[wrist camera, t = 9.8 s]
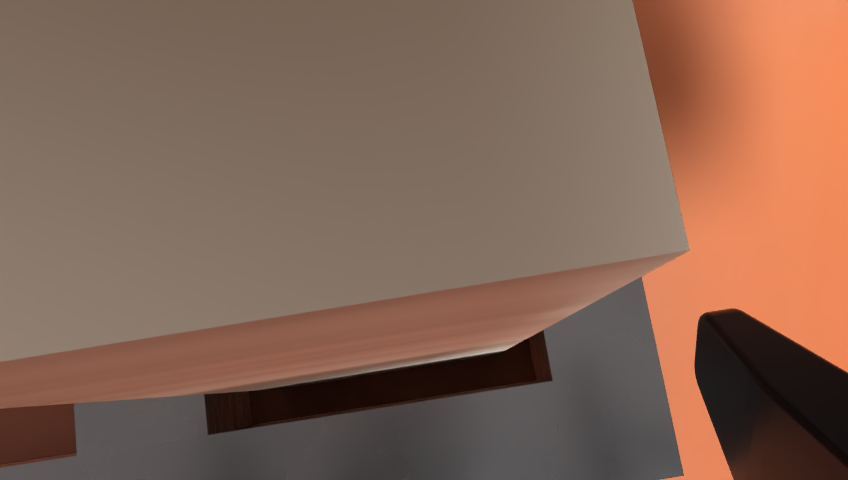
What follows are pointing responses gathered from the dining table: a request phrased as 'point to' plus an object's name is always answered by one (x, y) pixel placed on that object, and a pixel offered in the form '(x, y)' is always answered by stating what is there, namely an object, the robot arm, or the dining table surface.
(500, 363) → the dining table surface
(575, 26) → the square peg
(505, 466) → the grey flat frame
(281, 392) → the dining table surface
